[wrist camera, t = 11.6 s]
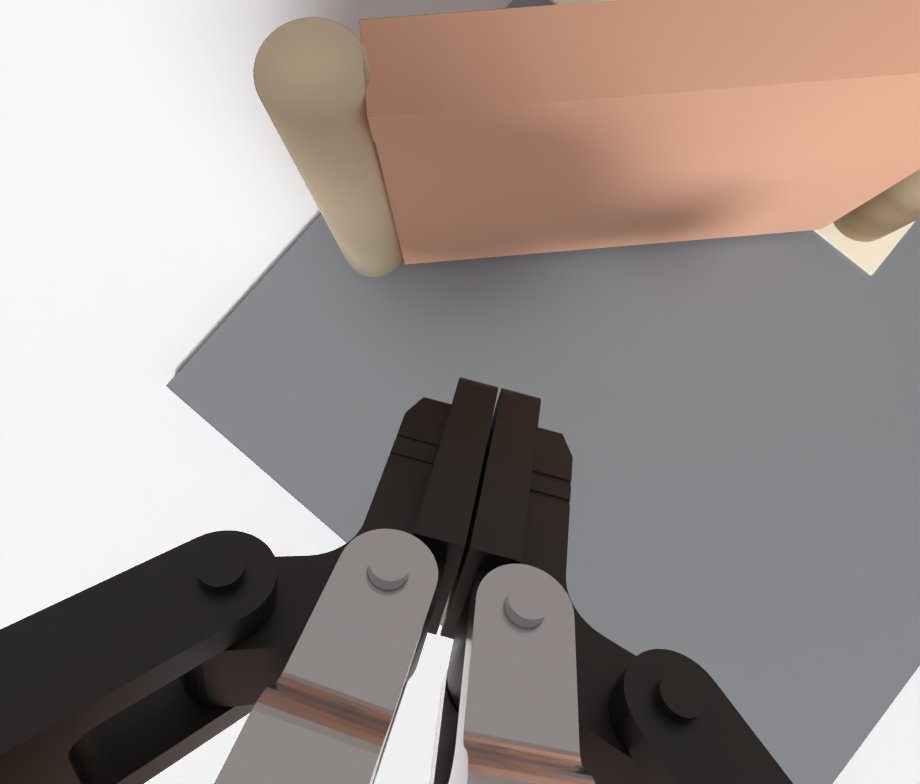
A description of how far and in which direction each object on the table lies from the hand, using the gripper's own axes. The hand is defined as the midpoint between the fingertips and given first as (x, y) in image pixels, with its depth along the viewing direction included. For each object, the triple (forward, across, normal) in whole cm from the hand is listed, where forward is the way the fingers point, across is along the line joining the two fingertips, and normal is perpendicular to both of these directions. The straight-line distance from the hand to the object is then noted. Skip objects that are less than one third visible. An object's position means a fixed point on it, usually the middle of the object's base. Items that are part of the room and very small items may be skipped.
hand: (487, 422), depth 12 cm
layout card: (+10, -7, 0) cm, 12 cm away
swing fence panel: (+9, -1, 0) cm, 9 cm away
